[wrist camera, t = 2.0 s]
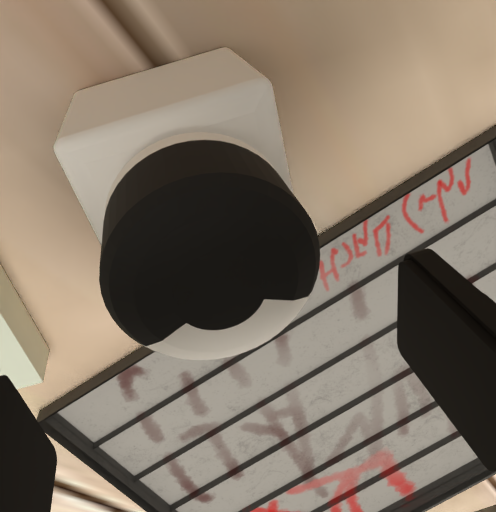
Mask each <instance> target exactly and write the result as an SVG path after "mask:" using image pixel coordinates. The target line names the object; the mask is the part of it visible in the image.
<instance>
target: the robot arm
mask: <svg viewBox="0 0 496 512" xmlns="http://www.w3.org/2000/svg"><path fill="white" fill-rule="evenodd" d="M397 346H398V349H399V352H400V354H401V356H402V357H403V358H404V360H405V361H406V362H407V364H408V365H409V366H410V368H411V369H412V370H413V372H414V373H415V374H416V376H417V377H418V378H419V380H420V381H421V382H422V384H423V385H424V386H425V388H426V389H427V390H428V392H429V393H430V394H431V396H432V397H433V398H434V400H435V401H436V402H437V404H438V405H439V406H440V408H441V409H442V410H443V412H444V413H445V414H446V416H447V417H448V418H449V420H450V421H451V422H452V424H453V425H454V426H455V428H456V429H457V430H458V432H459V433H460V434H461V436H462V437H463V438H464V440H465V441H466V442H467V444H468V445H469V446H470V448H471V449H472V450H473V452H474V453H475V454H476V456H477V457H478V458H479V460H480V461H481V462H482V464H483V465H484V466H485V467H486V468H487V469H488V470H489V471H492V472H493V471H496V303H495V302H494V301H493V300H492V299H491V298H489V297H488V296H487V295H486V294H484V293H483V292H481V291H480V290H479V289H478V288H476V287H475V286H474V285H473V284H472V283H471V282H469V281H468V280H467V279H466V278H465V277H464V276H462V275H461V274H460V273H459V272H458V271H457V270H455V269H454V268H453V267H452V266H451V265H450V264H448V263H447V262H446V261H445V260H444V259H443V258H441V257H440V256H439V255H438V254H437V253H436V252H434V251H433V250H432V249H429V248H427V249H423V250H420V251H416V252H413V253H409V254H406V255H405V257H404V260H403V262H400V263H399V265H398V302H397ZM56 465H57V456H56V451H55V448H54V446H53V445H52V443H51V441H50V440H49V438H48V437H47V435H46V434H45V432H44V431H43V429H42V428H41V426H40V425H39V423H38V421H37V420H36V418H35V417H34V415H33V414H32V412H31V411H30V409H29V408H28V406H27V405H26V403H25V402H24V400H23V398H22V397H21V395H20V394H19V392H18V391H17V389H16V388H15V386H14V385H13V383H12V382H11V380H10V379H9V377H8V376H6V375H1V376H0V512H50V510H51V502H52V495H53V488H54V480H55V473H56ZM475 512H496V505H493V506H490V507H487V508H484V509H481V510H478V511H475Z"/></svg>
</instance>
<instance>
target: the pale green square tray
mask: <svg viewBox="0 0 496 512" xmlns="http://www.w3.org/2000/svg"><path fill="white" fill-rule="evenodd" d="M48 355H49V348H48V346H47V344H46V343H45V341H44V339H43V337H42V336H41V334H40V332H39V330H38V329H37V327H36V325H35V323H34V322H33V320H32V318H31V316H30V315H29V313H28V311H27V309H26V308H25V306H24V304H23V303H22V301H21V299H20V297H19V296H18V294H17V292H16V290H15V289H14V287H13V285H12V283H11V282H10V280H9V278H8V276H7V275H6V273H5V271H4V269H3V268H2V266H1V264H0V376H1V375H6V376H8V377H9V379H10V380H11V382H12V383H13V385H14V386H15V388H16V389H20V388H24V387H28V386H31V385H35V384H38V383H42V382H43V380H44V375H45V370H46V365H47V360H48Z"/></svg>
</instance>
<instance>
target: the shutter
mask: <svg viewBox="0 0 496 512" xmlns="http://www.w3.org/2000/svg"><path fill="white" fill-rule="evenodd" d="M318 240H319V246H320V266H319V271H318V276H317V280H316V282H315V285H314V288H313V290H312V292H311V294H310V296H309V298H308V300H307V302H306V303H305V305H304V306H303V307H302V309H301V310H300V312H299V313H298V314H297V316H296V317H295V318H294V319H293V320H292V321H291V322H290V323H289V325H288V326H287V327H285V328H284V329H283V330H282V331H281V332H280V333H278V334H277V335H276V336H274V337H273V338H271V339H270V340H269V341H267V342H265V343H263V344H262V345H260V346H258V347H256V348H254V349H251V350H249V351H247V352H244V353H241V354H238V355H235V356H231V357H226V358H221V359H213V360H188V359H180V358H176V357H171V356H167V355H165V354H162V353H159V352H156V351H154V350H151V349H149V348H147V347H145V346H142V347H141V348H139V349H138V350H136V351H134V352H133V353H131V354H130V355H128V356H127V357H125V358H123V359H122V360H120V361H119V362H117V363H115V364H114V365H112V366H111V367H109V368H107V369H106V370H104V371H103V372H101V373H99V374H98V375H96V376H95V377H93V378H91V379H90V380H88V381H87V382H85V383H83V384H82V385H80V386H79V387H77V388H75V389H74V390H72V391H71V392H69V393H67V394H66V395H64V396H63V397H61V398H59V399H58V400H56V401H55V402H53V403H51V404H50V405H48V406H47V407H45V408H44V409H42V410H40V411H39V414H38V417H37V421H38V423H39V425H40V426H41V428H42V429H43V431H44V432H45V433H46V434H48V435H49V436H50V437H52V438H53V439H54V440H55V441H57V442H58V443H59V444H61V445H62V446H63V447H64V448H66V449H67V450H68V451H70V452H71V453H72V454H73V455H75V456H76V457H77V458H79V459H80V460H81V461H82V462H84V463H85V464H86V465H88V466H89V467H90V468H91V469H93V470H94V471H95V472H96V473H98V474H99V475H100V476H102V477H103V478H104V479H105V480H107V481H108V482H109V483H111V484H112V485H113V486H114V487H116V488H117V489H118V490H120V491H121V492H122V493H123V494H125V495H126V496H127V497H129V498H130V499H131V500H132V501H134V502H135V503H136V504H138V505H139V506H140V507H141V508H143V509H144V510H145V511H147V512H426V511H427V510H429V509H431V508H433V507H435V506H437V505H439V504H441V503H442V502H444V501H446V500H448V499H450V498H452V497H454V496H456V495H457V494H459V493H461V492H463V491H465V490H467V489H469V488H471V487H472V486H474V485H476V484H478V483H480V482H482V481H484V480H486V479H487V478H489V477H491V476H493V475H495V474H496V471H493V472H492V471H489V470H488V469H487V468H486V467H485V466H484V465H483V464H482V462H481V461H480V460H479V458H478V457H477V456H476V454H475V453H474V452H473V450H472V449H471V448H470V446H469V445H468V444H467V442H466V441H465V440H464V438H463V437H462V436H461V434H460V433H459V432H458V430H457V429H456V428H455V426H454V425H453V424H452V422H451V421H450V420H449V418H448V417H447V416H446V414H445V413H444V412H443V410H442V409H441V408H440V406H439V405H438V404H437V402H436V401H435V400H434V398H433V397H432V396H431V394H430V393H429V392H428V390H427V389H426V388H425V386H424V385H423V384H422V382H421V381H420V380H419V378H418V377H417V376H416V374H415V373H414V372H413V370H412V369H411V368H410V366H409V365H408V364H407V362H406V361H405V360H404V358H403V357H402V356H401V354H400V352H399V349H398V346H397V302H398V265H399V263H400V262H403V260H404V257H405V255H406V254H409V253H413V252H416V251H420V250H423V249H427V248H429V249H432V250H433V251H434V252H436V253H437V254H438V255H439V256H440V257H441V258H443V259H444V260H445V261H446V262H447V263H448V264H450V265H451V266H452V267H453V268H454V269H455V270H457V271H458V272H459V273H460V274H461V275H462V276H464V277H465V278H466V279H467V280H468V281H469V282H471V283H472V284H473V285H474V286H475V287H476V288H478V289H479V290H480V291H481V292H483V293H484V294H486V295H487V296H488V297H489V298H491V299H492V300H493V301H494V302H495V303H496V125H495V126H494V127H492V128H490V129H489V130H487V131H486V132H484V133H482V134H481V135H479V136H478V137H476V138H474V139H473V140H471V141H470V142H468V143H466V144H465V145H463V146H462V147H460V148H459V149H457V150H455V151H454V152H452V153H451V154H449V155H447V156H446V157H444V158H443V159H441V160H439V161H438V162H436V163H435V164H433V165H431V166H430V167H428V168H427V169H425V170H423V171H422V172H420V173H419V174H417V175H415V176H414V177H412V178H411V179H409V180H407V181H406V182H404V183H403V184H401V185H399V186H398V187H396V188H395V189H393V190H391V191H390V192H388V193H387V194H385V195H383V196H382V197H380V198H379V199H377V200H376V201H374V202H372V203H371V204H369V205H368V206H366V207H364V208H363V209H361V210H360V211H358V212H356V213H355V214H353V215H352V216H350V217H348V218H347V219H345V220H344V221H342V222H340V223H339V224H337V225H336V226H334V227H332V228H331V229H329V230H328V231H326V232H324V233H323V234H321V235H320V236H318Z"/></svg>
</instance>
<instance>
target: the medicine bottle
mask: <svg viewBox="0 0 496 512" xmlns="http://www.w3.org/2000/svg"><path fill="white" fill-rule="evenodd" d="M53 148H54V153H55V155H56V157H57V159H58V161H59V163H60V165H61V167H62V169H63V171H64V173H65V175H66V177H67V179H68V181H69V182H70V184H71V186H72V188H73V190H74V192H75V194H76V196H77V198H78V200H79V202H80V204H81V206H82V208H83V210H84V212H85V214H86V216H87V218H88V220H89V222H90V224H91V226H92V228H93V230H94V232H95V234H96V236H97V238H98V240H99V242H100V244H101V258H100V277H99V281H100V288H101V294H102V297H103V300H104V303H105V306H106V308H107V310H108V311H109V313H110V315H111V317H112V318H113V320H114V321H115V322H116V323H117V325H118V326H119V327H120V328H121V329H122V330H123V331H124V332H125V333H126V334H127V335H128V336H129V337H131V338H132V339H134V340H135V341H137V342H138V343H139V344H141V345H143V346H145V347H147V348H149V349H151V350H154V351H156V352H159V353H162V354H165V355H167V356H171V357H176V358H180V359H188V360H213V359H221V358H226V357H231V356H235V355H238V354H241V353H244V352H247V351H249V350H251V349H254V348H256V347H258V346H260V345H262V344H263V343H265V342H267V341H269V340H270V339H271V338H273V337H274V336H276V335H277V334H278V333H280V332H281V331H282V330H283V329H284V328H285V327H287V326H288V325H289V323H290V322H291V321H292V320H293V319H294V318H295V317H296V316H297V314H298V313H299V312H300V310H301V309H302V307H303V306H304V305H305V303H306V302H307V300H308V298H309V296H310V294H311V292H312V290H313V288H314V285H315V282H316V280H317V276H318V271H319V266H320V246H319V240H318V236H317V232H316V229H315V227H314V225H313V223H312V220H311V218H310V217H309V215H308V214H307V212H306V211H305V209H304V208H303V207H302V205H301V204H300V202H299V201H298V200H297V198H296V197H295V196H294V193H293V188H292V183H291V178H290V173H289V168H288V162H287V157H286V152H285V147H284V142H283V137H282V132H281V127H280V122H279V116H278V111H277V106H276V101H275V96H274V91H273V86H272V84H271V82H270V80H269V79H268V78H266V77H265V76H264V75H262V74H261V73H260V72H259V71H257V70H256V69H255V68H254V67H252V66H251V65H250V64H249V63H247V62H246V61H245V60H243V59H242V58H241V57H240V56H238V55H237V54H236V53H235V52H233V51H232V50H231V49H229V48H228V47H222V48H219V49H216V50H212V51H209V52H206V53H202V54H199V55H196V56H192V57H189V58H186V59H182V60H179V61H176V62H172V63H169V64H166V65H162V66H159V67H156V68H152V69H149V70H146V71H142V72H139V73H136V74H132V75H129V76H126V77H122V78H119V79H116V80H112V81H109V82H106V83H102V84H99V85H96V86H92V87H89V88H86V89H82V90H79V91H77V92H75V93H74V95H73V98H72V100H71V103H70V105H69V108H68V110H67V113H66V116H65V118H64V121H63V123H62V126H61V128H60V131H59V133H58V136H57V138H56V141H55V143H54V146H53Z"/></svg>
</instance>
